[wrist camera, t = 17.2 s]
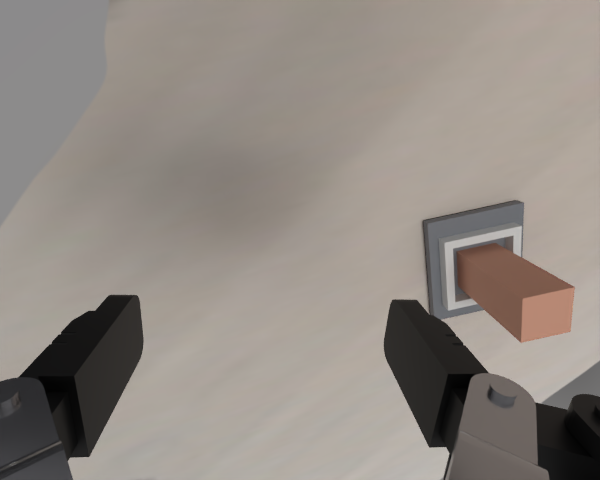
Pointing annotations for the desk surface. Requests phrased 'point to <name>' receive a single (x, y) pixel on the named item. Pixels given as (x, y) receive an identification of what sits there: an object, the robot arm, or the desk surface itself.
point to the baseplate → (463, 235)
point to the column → (516, 292)
